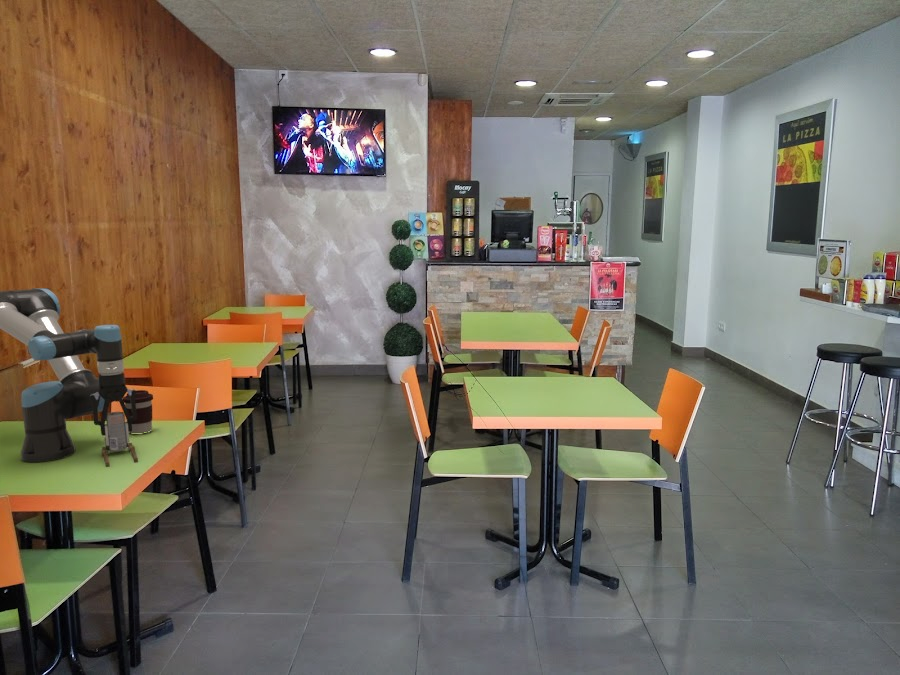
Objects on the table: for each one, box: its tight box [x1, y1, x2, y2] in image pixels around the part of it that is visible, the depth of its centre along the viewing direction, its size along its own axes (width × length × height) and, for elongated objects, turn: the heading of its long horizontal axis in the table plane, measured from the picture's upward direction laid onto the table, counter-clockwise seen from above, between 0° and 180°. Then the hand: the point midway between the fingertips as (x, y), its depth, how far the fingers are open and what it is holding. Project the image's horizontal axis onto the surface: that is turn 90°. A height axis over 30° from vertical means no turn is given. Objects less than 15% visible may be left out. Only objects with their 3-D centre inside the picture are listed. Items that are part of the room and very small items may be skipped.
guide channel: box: [101, 442, 139, 468], centre depth 224 cm, size 10×20×1 cm, turn 29°
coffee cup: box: [122, 389, 154, 433], centre depth 251 cm, size 10×10×15 cm
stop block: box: [104, 437, 129, 451], centre depth 233 cm, size 7×2×4 cm, turn 119°
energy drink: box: [105, 411, 127, 452], centre depth 227 cm, size 5×5×12 cm
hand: (117, 443), depth 227 cm, fingers closed on energy drink, 5 cm apart
